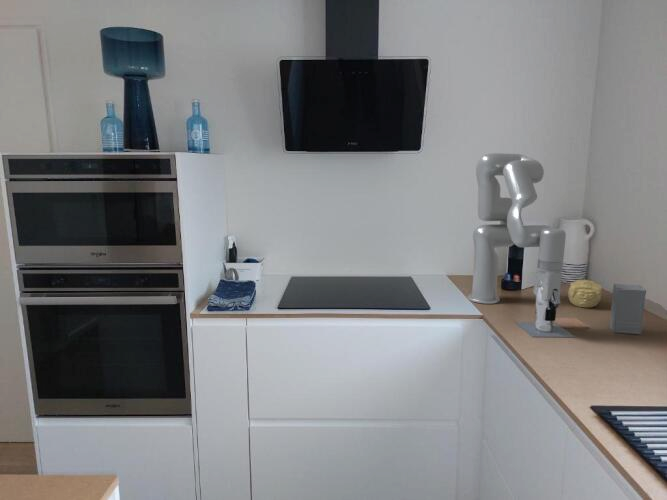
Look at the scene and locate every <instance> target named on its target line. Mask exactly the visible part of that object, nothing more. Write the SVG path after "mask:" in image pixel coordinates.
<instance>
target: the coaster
mask: <svg viewBox="0 0 667 500" xmlns="http://www.w3.org/2000/svg"><path fill="white" fill-rule="evenodd" d="M553 322H555V323H556V324H558V325H559V326H560V327H562V328H563V329H590V326H589V325H588V324H586V323H585V322H582V321H581V320H579V319H578V318H577V317H555V321H553Z"/></svg>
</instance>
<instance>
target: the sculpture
mask: <svg viewBox="0 0 667 500" xmlns="http://www.w3.org/2000/svg"><path fill="white" fill-rule="evenodd" d="M602 289H603V286H602V285H600V284H599V283H597V282H595V281H594V280H589V279H577V280H575V281H574V282H570V283H569V288H568V292H567V293H568V294H567V295H568V299H569V301H570V303H571V304H572V305H573V306H576V307H579V308H585V309H587V308H588V309H589V308H590V309H591V308H594V307H596V306H597V305H598V304H599V302H600V301H601V297H602Z"/></svg>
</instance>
